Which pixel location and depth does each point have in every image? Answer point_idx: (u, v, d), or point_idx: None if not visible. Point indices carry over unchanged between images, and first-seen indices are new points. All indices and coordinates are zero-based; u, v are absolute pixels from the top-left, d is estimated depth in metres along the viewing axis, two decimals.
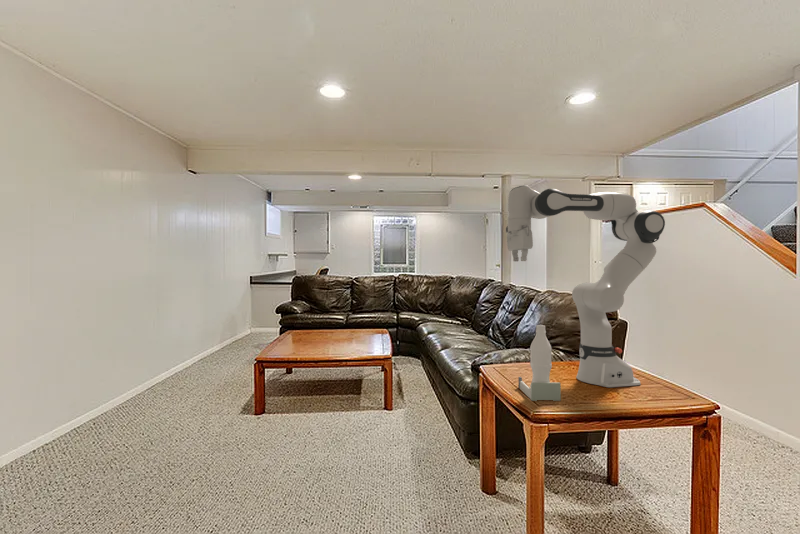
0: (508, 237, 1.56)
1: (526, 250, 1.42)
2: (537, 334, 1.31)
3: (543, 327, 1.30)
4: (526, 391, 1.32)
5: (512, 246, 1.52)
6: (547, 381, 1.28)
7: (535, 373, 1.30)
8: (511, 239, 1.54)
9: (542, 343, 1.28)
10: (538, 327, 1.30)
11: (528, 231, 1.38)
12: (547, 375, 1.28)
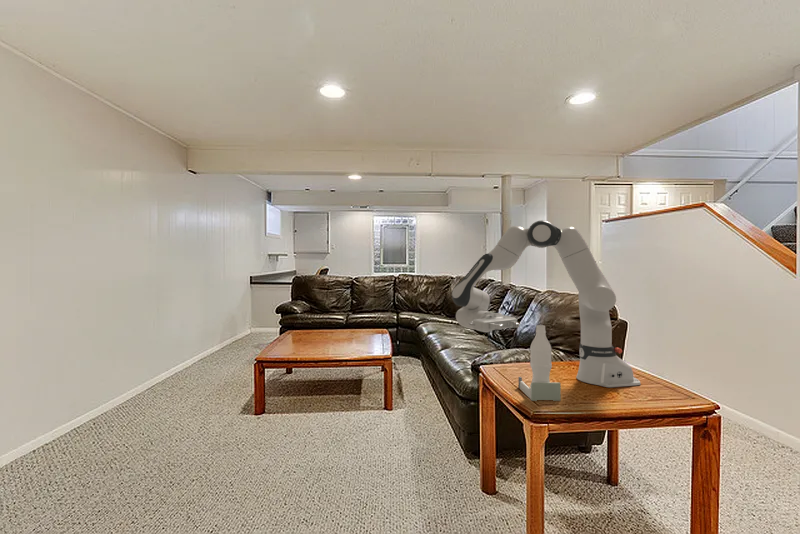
0: None
1: (490, 325, 1.46)
2: (537, 334, 1.31)
3: (543, 327, 1.30)
4: (526, 391, 1.32)
5: None
6: (547, 381, 1.28)
7: (535, 373, 1.30)
8: None
9: (542, 343, 1.28)
10: (538, 327, 1.30)
11: (471, 324, 1.50)
12: (547, 375, 1.28)
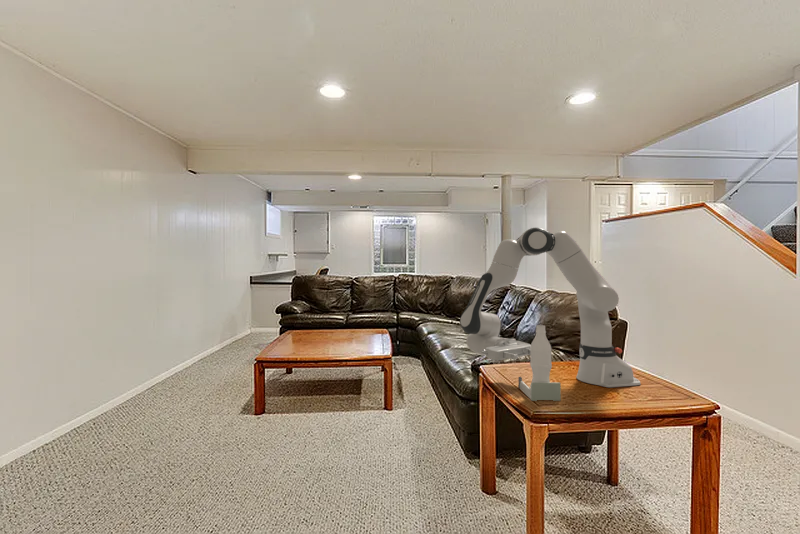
0: None
1: (504, 354, 1.38)
2: (537, 334, 1.31)
3: (543, 327, 1.30)
4: (526, 391, 1.32)
5: None
6: (547, 381, 1.28)
7: (535, 373, 1.30)
8: None
9: (542, 343, 1.28)
10: (538, 327, 1.30)
11: (483, 353, 1.42)
12: (547, 375, 1.28)
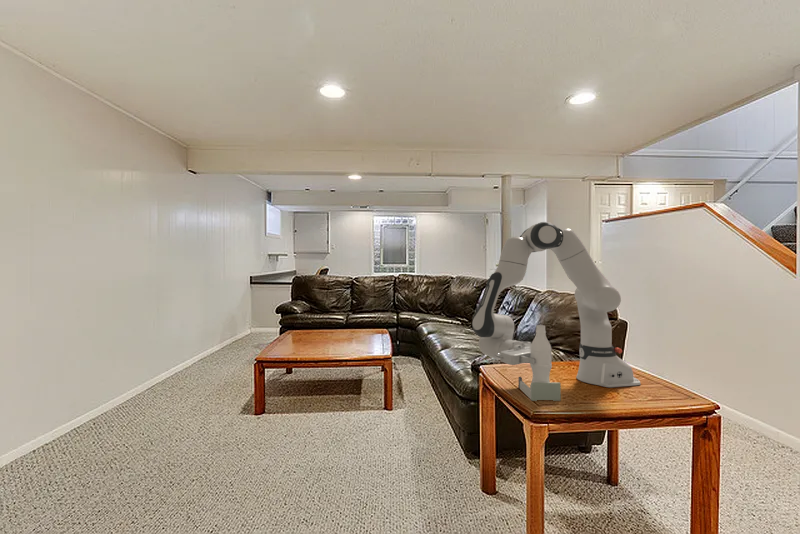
0: None
1: (521, 358, 1.31)
2: (537, 334, 1.31)
3: (543, 327, 1.30)
4: (526, 391, 1.32)
5: None
6: (547, 381, 1.28)
7: (535, 373, 1.30)
8: None
9: (542, 343, 1.28)
10: (538, 327, 1.30)
11: (498, 357, 1.35)
12: (547, 375, 1.28)
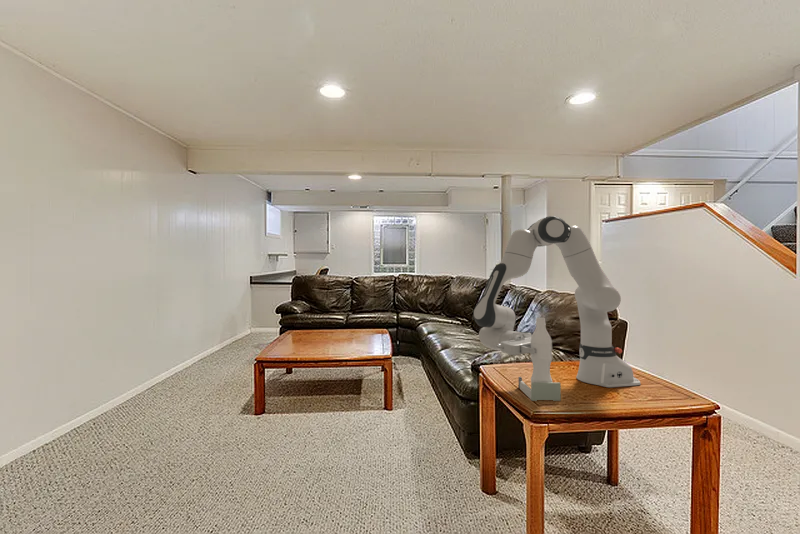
0: None
1: (522, 348, 1.31)
2: (537, 326, 1.31)
3: (543, 319, 1.30)
4: (526, 391, 1.32)
5: None
6: (547, 373, 1.28)
7: (535, 365, 1.30)
8: None
9: (542, 336, 1.28)
10: (538, 319, 1.30)
11: (499, 347, 1.35)
12: (547, 368, 1.28)
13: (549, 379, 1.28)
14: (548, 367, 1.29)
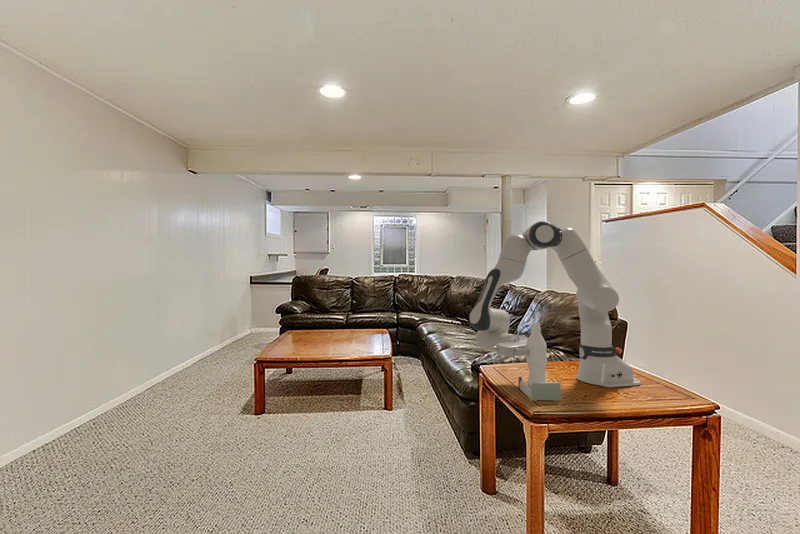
0: None
1: (515, 350, 1.36)
2: (532, 331, 1.35)
3: (538, 325, 1.35)
4: (526, 391, 1.32)
5: None
6: (543, 377, 1.33)
7: (531, 369, 1.34)
8: None
9: (537, 340, 1.33)
10: (533, 325, 1.35)
11: (494, 349, 1.41)
12: (542, 371, 1.33)
13: (544, 382, 1.33)
14: (543, 371, 1.33)
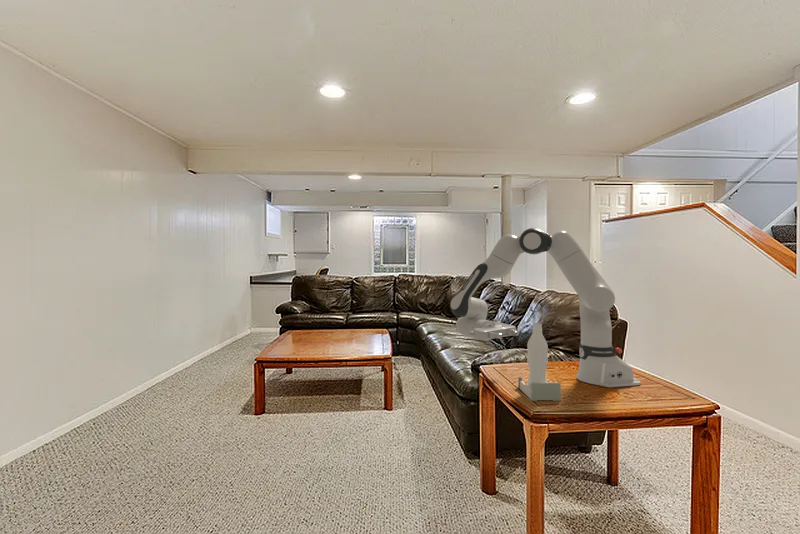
0: None
1: (489, 334, 1.49)
2: (534, 332, 1.35)
3: (539, 325, 1.34)
4: (526, 391, 1.32)
5: None
6: (543, 377, 1.33)
7: (531, 369, 1.34)
8: None
9: (538, 341, 1.33)
10: (535, 325, 1.35)
11: (470, 333, 1.53)
12: (543, 372, 1.33)
13: None
14: (544, 371, 1.33)
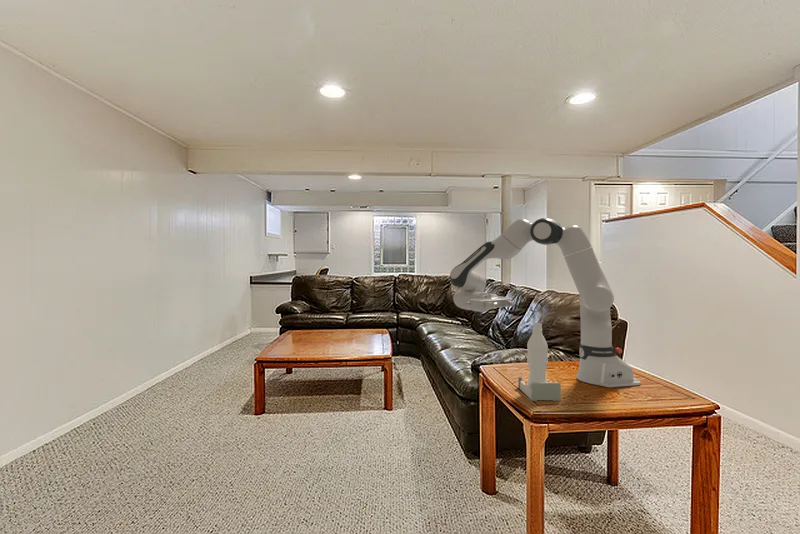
0: None
1: (485, 303, 1.54)
2: (534, 332, 1.35)
3: (539, 325, 1.34)
4: (526, 391, 1.32)
5: None
6: (543, 377, 1.33)
7: (531, 369, 1.34)
8: None
9: (538, 341, 1.33)
10: (534, 325, 1.35)
11: (467, 303, 1.58)
12: (543, 372, 1.33)
13: None
14: (544, 371, 1.33)
